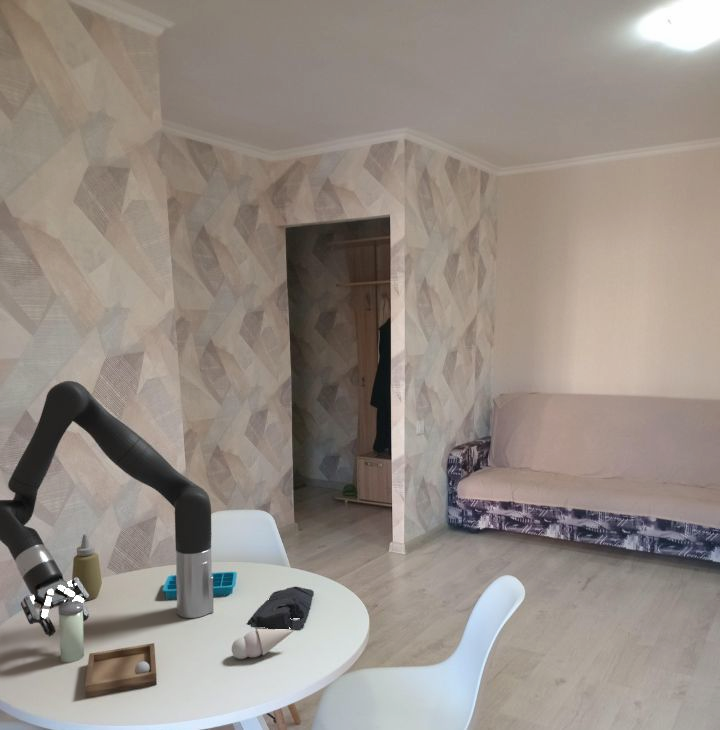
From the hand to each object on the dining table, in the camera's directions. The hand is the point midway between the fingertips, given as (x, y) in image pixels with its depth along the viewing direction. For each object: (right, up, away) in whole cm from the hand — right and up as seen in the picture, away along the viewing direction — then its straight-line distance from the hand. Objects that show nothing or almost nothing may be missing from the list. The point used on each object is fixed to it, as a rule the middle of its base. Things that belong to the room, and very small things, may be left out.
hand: (70, 626), depth 147 cm
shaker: (+1, -7, 0) cm, 7 cm away
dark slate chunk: (+47, -6, +24) cm, 53 cm away
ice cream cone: (+45, -7, +1) cm, 45 cm away
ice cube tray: (+21, -6, +38) cm, 44 cm away
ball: (+20, -5, -10) cm, 23 cm away
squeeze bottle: (-10, -6, +33) cm, 35 cm away
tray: (+15, -7, -7) cm, 18 cm away
